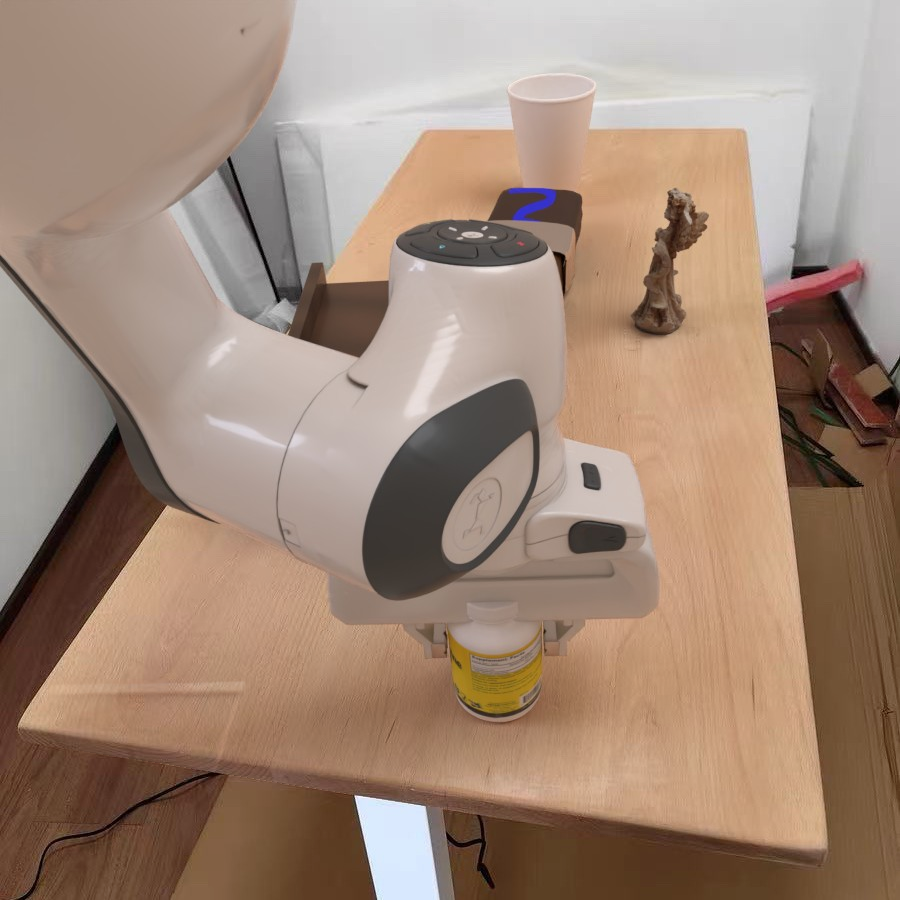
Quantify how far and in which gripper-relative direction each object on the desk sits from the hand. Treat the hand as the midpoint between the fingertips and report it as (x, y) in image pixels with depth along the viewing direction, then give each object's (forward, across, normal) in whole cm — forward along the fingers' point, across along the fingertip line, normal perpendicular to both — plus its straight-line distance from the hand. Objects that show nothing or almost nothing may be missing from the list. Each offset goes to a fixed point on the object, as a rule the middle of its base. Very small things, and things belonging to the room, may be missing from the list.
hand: (495, 649), depth 58 cm
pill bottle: (+4, 0, 0) cm, 4 cm away
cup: (+4, +9, +83) cm, 84 cm away
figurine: (+4, +19, +48) cm, 52 cm away
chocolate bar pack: (+4, +4, +58) cm, 58 cm away
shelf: (+4, -12, +30) cm, 33 cm away
